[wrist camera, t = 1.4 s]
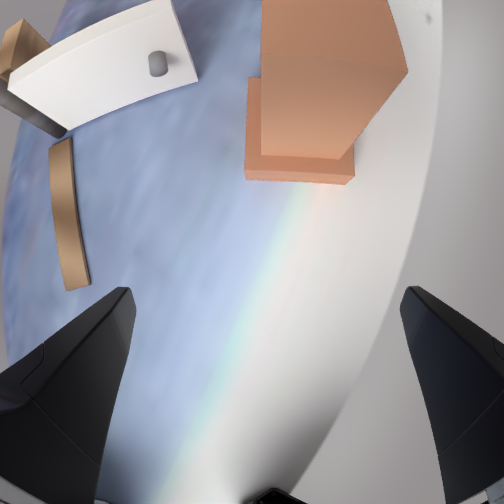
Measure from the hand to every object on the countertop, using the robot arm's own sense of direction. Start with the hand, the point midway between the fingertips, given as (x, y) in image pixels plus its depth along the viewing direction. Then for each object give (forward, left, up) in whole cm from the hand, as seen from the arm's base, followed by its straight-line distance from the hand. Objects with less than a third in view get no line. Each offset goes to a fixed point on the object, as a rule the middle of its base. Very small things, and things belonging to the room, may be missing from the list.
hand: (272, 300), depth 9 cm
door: (+17, -3, -11) cm, 21 cm away
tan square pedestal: (+5, -9, -12) cm, 16 cm away
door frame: (+19, +4, -12) cm, 23 cm away
